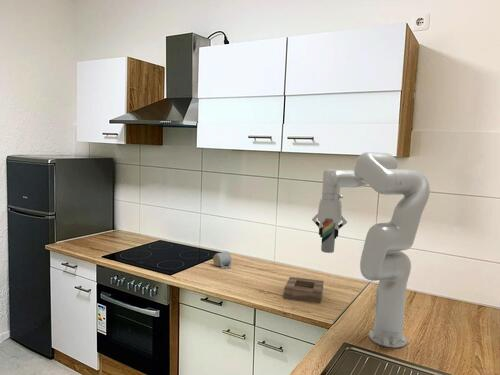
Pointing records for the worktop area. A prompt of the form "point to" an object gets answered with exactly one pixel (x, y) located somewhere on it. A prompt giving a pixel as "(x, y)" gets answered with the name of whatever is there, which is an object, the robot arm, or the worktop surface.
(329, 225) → the lotion bottle
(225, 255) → the ceramic mug
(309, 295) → the holder
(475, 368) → the worktop surface
